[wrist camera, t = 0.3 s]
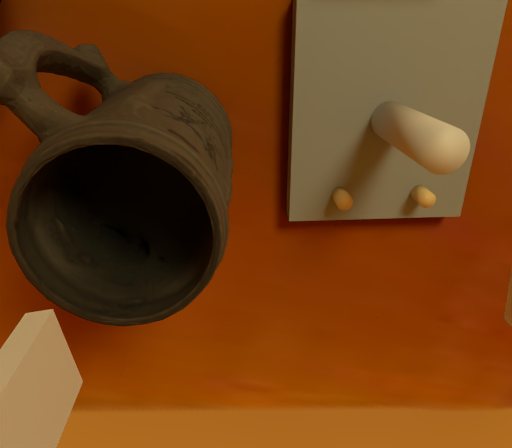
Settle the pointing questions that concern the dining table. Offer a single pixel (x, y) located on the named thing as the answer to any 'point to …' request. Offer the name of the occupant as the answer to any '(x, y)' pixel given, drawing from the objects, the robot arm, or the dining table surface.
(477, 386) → the dining table surface
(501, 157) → the dining table surface
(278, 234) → the dining table surface
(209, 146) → the beer stein
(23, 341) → the robot arm
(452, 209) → the post board
